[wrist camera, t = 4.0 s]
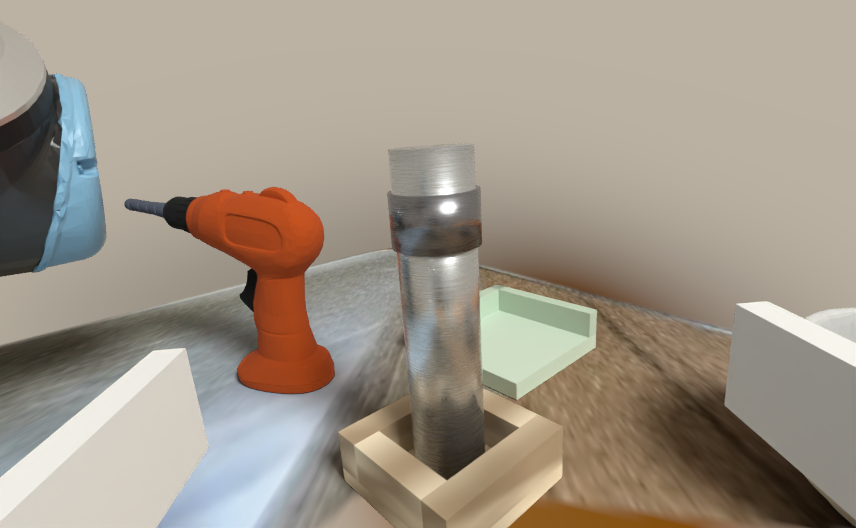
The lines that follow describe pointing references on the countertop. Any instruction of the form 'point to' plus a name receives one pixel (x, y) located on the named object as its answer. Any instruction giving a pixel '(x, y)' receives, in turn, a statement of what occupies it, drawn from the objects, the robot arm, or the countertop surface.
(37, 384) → the countertop surface
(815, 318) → the teacup
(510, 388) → the pale green flat tray
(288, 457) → the countertop surface
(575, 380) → the countertop surface
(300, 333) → the toy drill
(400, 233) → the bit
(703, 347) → the countertop surface
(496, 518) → the socket
